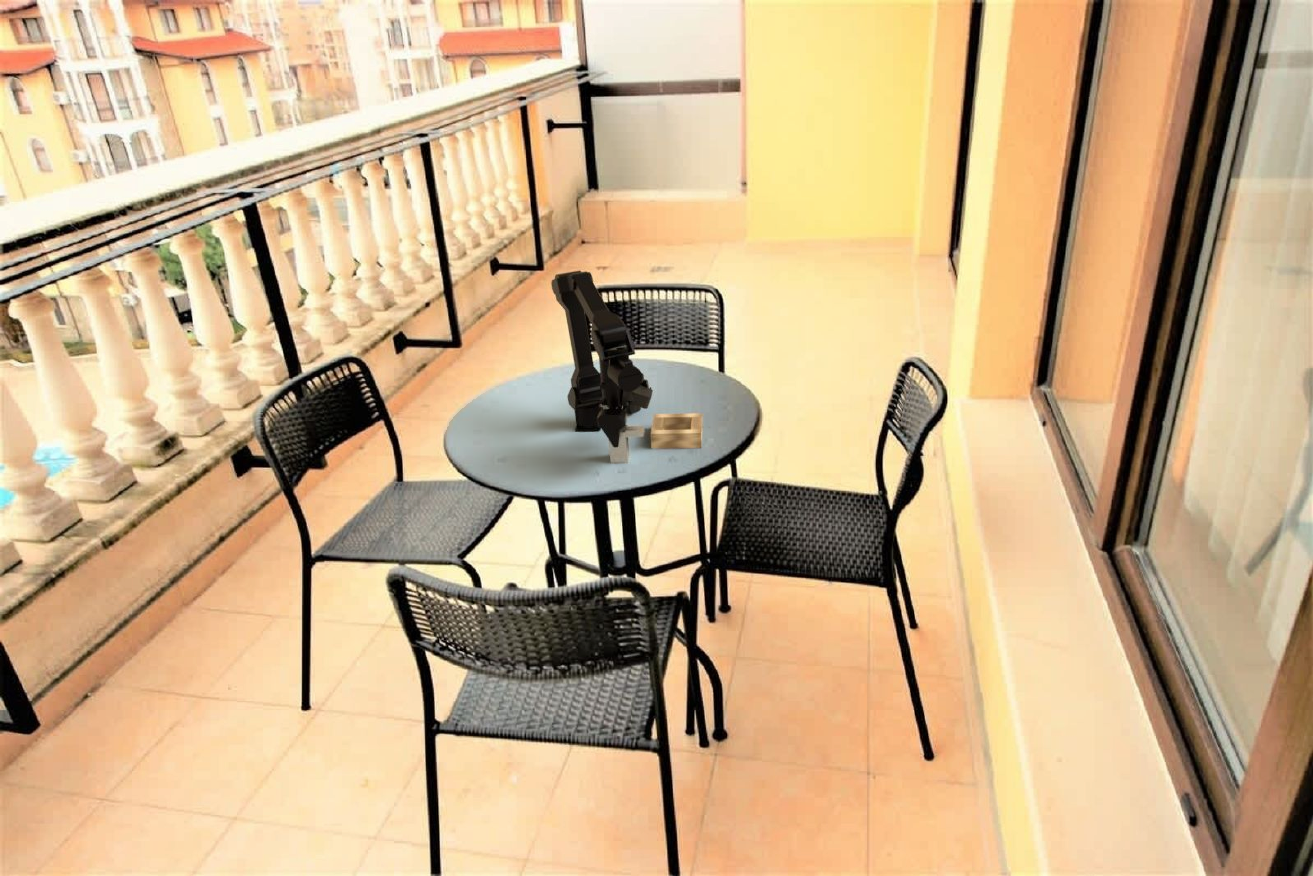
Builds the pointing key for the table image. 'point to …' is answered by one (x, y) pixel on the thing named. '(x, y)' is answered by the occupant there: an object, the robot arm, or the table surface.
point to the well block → (676, 431)
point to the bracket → (624, 443)
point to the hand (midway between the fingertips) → (618, 437)
